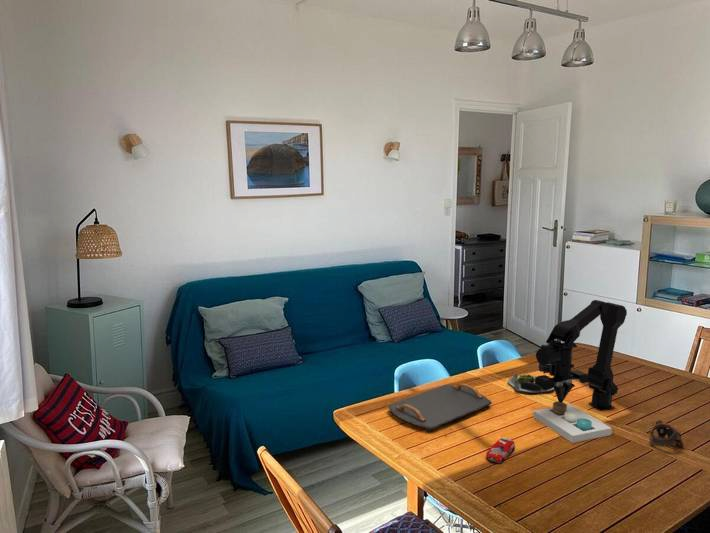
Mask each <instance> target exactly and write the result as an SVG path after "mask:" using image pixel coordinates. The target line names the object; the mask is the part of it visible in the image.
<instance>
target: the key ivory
mask: <svg viewBox="0 0 710 533" xmlns="http://www.w3.org/2000/svg"><path fill="white" fill-rule="evenodd" d="M577 419H579V414H578V413H576V412H572V411H566V412H565V414H564V420H566V421H567V422H569V423H576V422H577Z"/></svg>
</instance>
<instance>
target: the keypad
mask: <svg viewBox="0 0 710 533" xmlns="http://www.w3.org/2000/svg"><path fill="white" fill-rule="evenodd" d="M567 411H572V412H576V413H578V414H579V419H580V418H583V419H588V420H590V421H591V422H592V426H591V430H587V431H582V430H580V429H579V428H577V427H576V426H577V422H576V423H569V422H567V421H566V420H564V415H562V416H560V415H556V414H554V413H553V406H551V407H547V408H542V409H536V410H533V415H532V418H534V419H535V420H537V421H538V422H540V423H541V424H542V425H544V426H546V427H547V428H549V429H550V430H552V431H553V432H555V433H557V434H558V435H560V436H561V437H562V438H564V439H565V440H568V441H569V442H570V443H572V444H574V443H575V444H576V443H578V442H584V441H588V440H594V439H599V438H603V437H608V436H612V430H613V428H612V427H611V426H609V425H608V424H605V423H604V422H602V421H600V420H599V419H597V418H595V417H593V416H591V415H590V414H588V413H586V412H584V411H582V410H581V409H579V408H577V407H575V406H574V405H572V404H569V403H568V404H567Z"/></svg>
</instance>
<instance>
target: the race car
mask: <svg viewBox="0 0 710 533" xmlns="http://www.w3.org/2000/svg"><path fill="white" fill-rule="evenodd" d="M515 444H516V443H515V441H514V440H513V439H510V438H507V437H501V438H499V439H498V440H497V441H495V443H493V445H492V444H491V445H490V449H489V450H487V451H486V454H485V458H486V460H488V461H489V462H492V463H495V464H503V463H504V461H505V460H506V459H507V458H508V457H509V456H510V455H511V454H512V453H514V452H515V449H516V445H515Z"/></svg>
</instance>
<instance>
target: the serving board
mask: <svg viewBox="0 0 710 533" xmlns="http://www.w3.org/2000/svg"><path fill="white" fill-rule="evenodd" d="M492 404H493V402H492V401H491V400H490V399H488V397H486V396H484V395H483V394H481V393H480V392H479V391H478V389H476V388H475V387H474V386H473V385H470V384H467V383H459V384H457V385H453V384H444V385H441V386H438V387H436V388H432V389H430V390H428V391H424V392H421V393H418V394H416V395H413V396H410V397H408V398H404V399H402V400H399V401H397V402H394V403H391V404H389V405H388V410H389V411H390V413H391V414H392V415H395V416H396V417H397V418H399V419H400V420H402V421H405V422H407V423H410V424H412V425H414V426H419V427H422V428H425V431H426V432H427V433H432V431H433V429H435V428H438V427H440V426H442V425H444V424H445V425H446V424H447V423H450V422H452V421H454V420H457V419H458V418H462V417H465V416H467V415H469V414H471V413H473V412H477V411H479V410H481V409H482V408H485V409H487V408H490V405H492Z"/></svg>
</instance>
